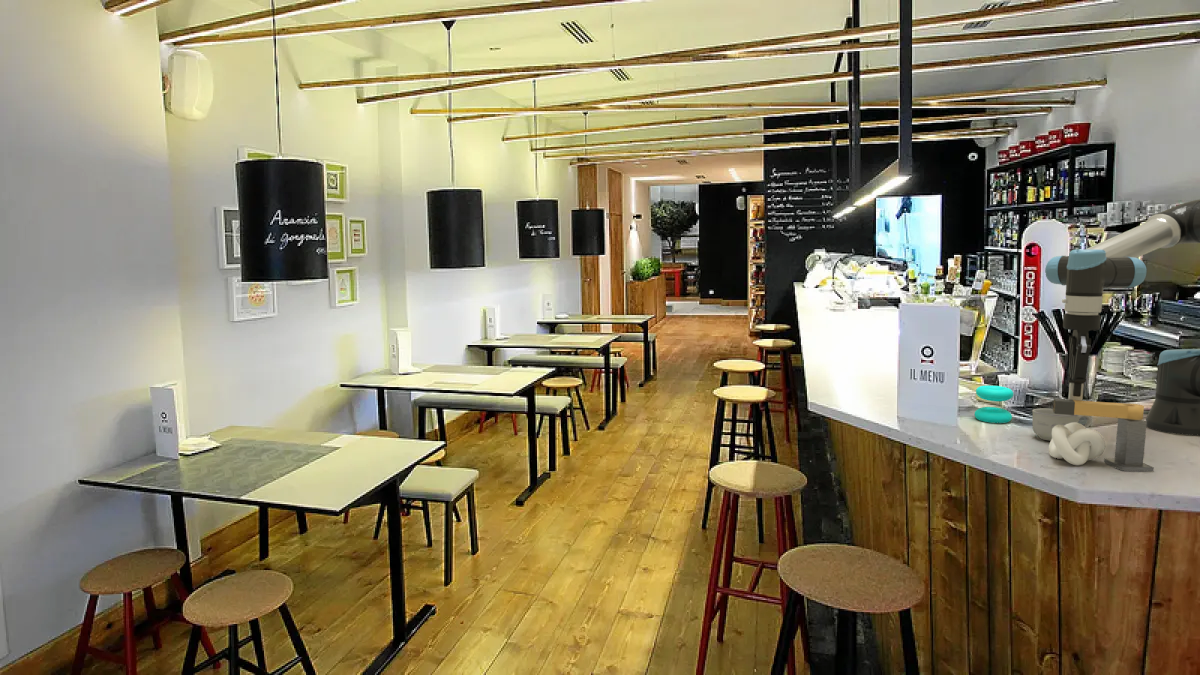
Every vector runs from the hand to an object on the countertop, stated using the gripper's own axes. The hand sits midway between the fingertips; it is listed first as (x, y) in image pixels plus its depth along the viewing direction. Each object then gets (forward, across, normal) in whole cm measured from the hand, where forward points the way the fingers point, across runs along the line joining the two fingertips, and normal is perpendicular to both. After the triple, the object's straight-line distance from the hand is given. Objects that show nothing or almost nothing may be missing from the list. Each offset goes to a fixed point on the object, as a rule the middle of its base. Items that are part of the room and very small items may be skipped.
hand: (1074, 408), depth 180 cm
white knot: (+13, +3, 0) cm, 13 cm away
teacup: (+13, -19, 0) cm, 23 cm away
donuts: (+13, -37, -15) cm, 42 cm away
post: (+13, +3, +11) cm, 17 cm away
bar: (+1, +3, +4) cm, 5 cm away
